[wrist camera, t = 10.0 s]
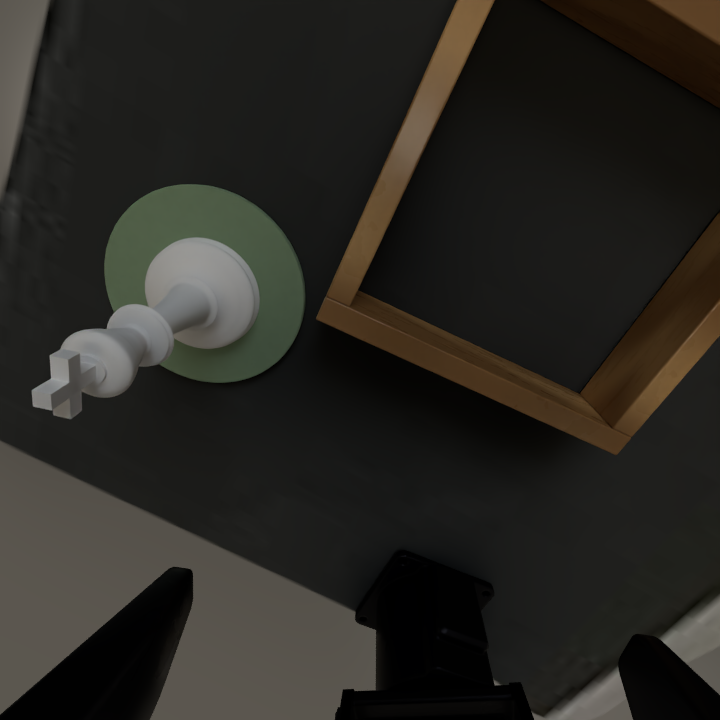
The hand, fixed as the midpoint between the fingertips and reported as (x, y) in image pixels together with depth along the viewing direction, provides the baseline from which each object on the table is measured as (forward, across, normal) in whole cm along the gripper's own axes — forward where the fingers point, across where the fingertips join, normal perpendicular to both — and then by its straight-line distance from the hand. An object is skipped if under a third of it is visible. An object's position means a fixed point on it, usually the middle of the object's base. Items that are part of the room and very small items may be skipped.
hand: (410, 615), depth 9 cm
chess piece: (+13, +9, -2) cm, 16 cm away
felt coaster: (+13, +9, -2) cm, 16 cm away
